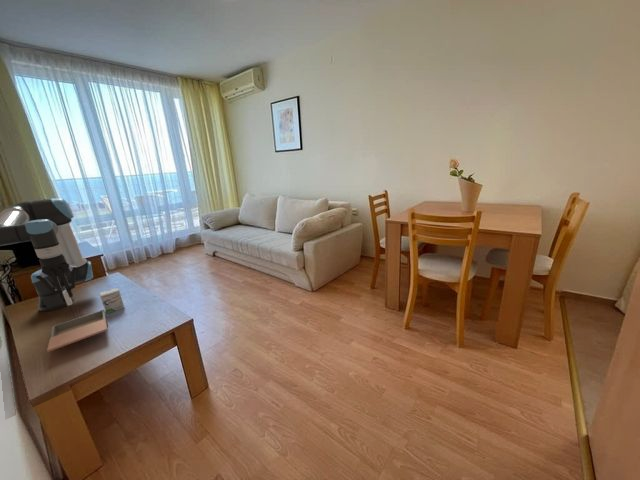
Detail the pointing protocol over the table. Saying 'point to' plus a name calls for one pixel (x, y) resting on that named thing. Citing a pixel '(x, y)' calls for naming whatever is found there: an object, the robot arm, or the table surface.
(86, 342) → the table surface
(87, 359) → the table surface
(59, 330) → the box
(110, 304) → the ink box
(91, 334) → the lid
